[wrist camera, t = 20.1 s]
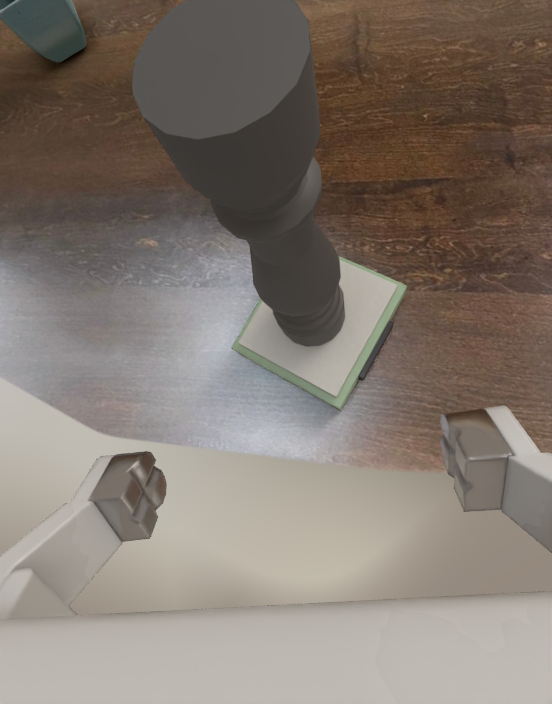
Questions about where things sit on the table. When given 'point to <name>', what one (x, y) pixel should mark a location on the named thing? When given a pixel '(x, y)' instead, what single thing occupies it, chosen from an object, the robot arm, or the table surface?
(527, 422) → the table surface
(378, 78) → the table surface
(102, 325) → the table surface
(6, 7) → the flower pot
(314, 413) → the table surface
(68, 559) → the robot arm
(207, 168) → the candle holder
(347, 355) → the scale
